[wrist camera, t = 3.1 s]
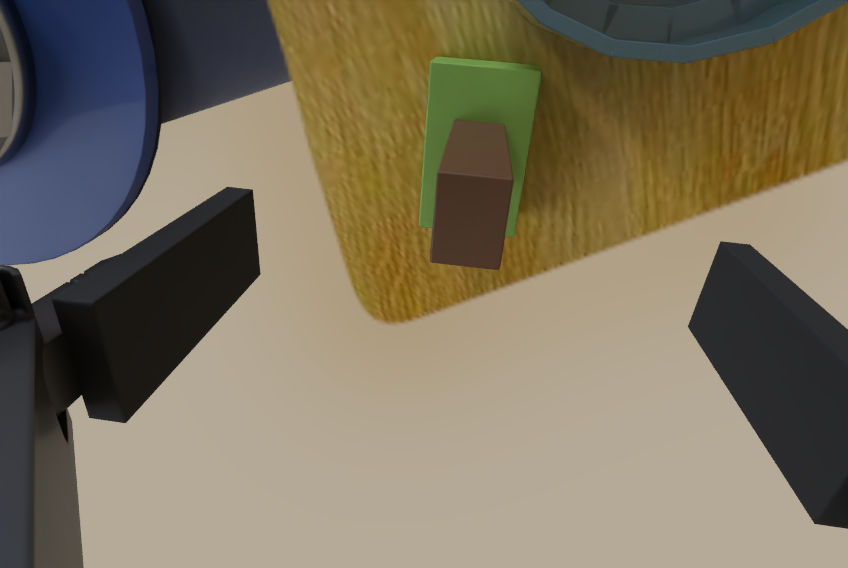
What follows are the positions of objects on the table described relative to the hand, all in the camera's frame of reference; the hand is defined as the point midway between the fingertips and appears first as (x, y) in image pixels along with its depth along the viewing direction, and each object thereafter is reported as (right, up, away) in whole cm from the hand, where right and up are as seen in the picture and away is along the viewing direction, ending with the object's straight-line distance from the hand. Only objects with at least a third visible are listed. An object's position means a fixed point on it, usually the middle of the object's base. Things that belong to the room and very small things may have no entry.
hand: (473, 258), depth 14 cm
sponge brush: (+1, +7, +12) cm, 14 cm away
